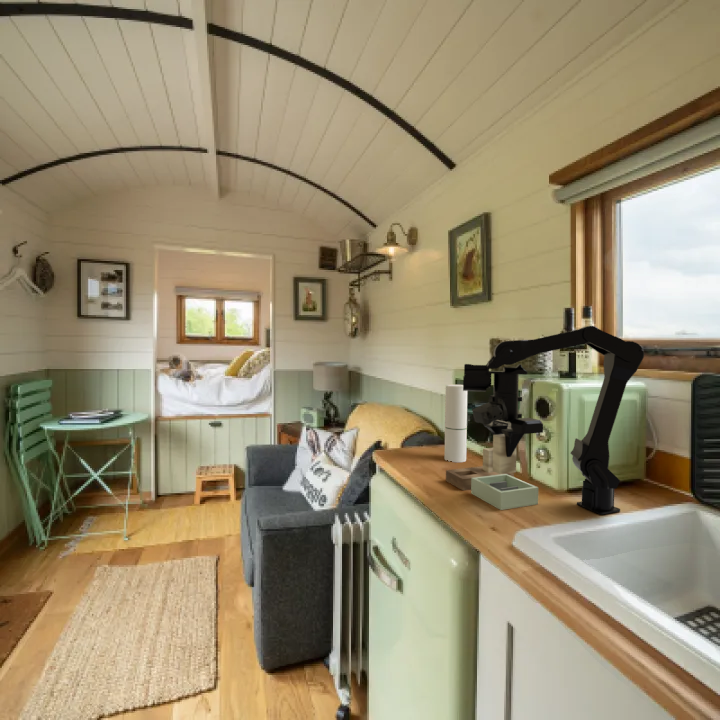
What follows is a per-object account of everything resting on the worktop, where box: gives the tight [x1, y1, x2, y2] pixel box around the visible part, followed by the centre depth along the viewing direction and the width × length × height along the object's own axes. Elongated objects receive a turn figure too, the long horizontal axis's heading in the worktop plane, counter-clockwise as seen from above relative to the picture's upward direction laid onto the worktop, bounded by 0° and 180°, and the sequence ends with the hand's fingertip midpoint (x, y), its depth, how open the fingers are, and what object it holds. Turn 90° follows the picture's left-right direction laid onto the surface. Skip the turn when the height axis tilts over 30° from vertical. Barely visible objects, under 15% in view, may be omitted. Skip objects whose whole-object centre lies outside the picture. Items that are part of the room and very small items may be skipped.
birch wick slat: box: [492, 434, 518, 474], centre depth 96 cm, size 5×2×9 cm, turn 110°
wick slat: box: [482, 447, 494, 473], centre depth 110 cm, size 5×2×9 cm, turn 110°
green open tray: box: [470, 474, 539, 511], centre depth 96 cm, size 11×11×4 cm
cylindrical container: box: [443, 384, 468, 463], centre depth 131 cm, size 7×7×25 cm
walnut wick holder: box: [445, 465, 515, 491], centre depth 108 cm, size 17×8×3 cm, turn 110°
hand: (504, 455), depth 96 cm, fingers closed on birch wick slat, 2 cm apart
